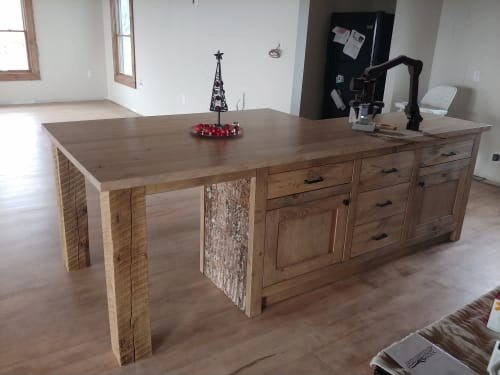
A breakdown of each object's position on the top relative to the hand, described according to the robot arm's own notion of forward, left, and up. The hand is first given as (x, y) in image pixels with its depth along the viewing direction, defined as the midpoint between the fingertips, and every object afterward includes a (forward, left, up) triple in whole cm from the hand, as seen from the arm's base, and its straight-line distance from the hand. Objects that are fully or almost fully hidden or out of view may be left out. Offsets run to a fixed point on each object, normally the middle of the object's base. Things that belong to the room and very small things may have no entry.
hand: (364, 119), depth 252 cm
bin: (0, 0, -6) cm, 6 cm away
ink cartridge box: (+6, -19, -6) cm, 21 cm away
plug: (0, 0, -6) cm, 6 cm away
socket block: (-11, -11, -6) cm, 17 cm away
